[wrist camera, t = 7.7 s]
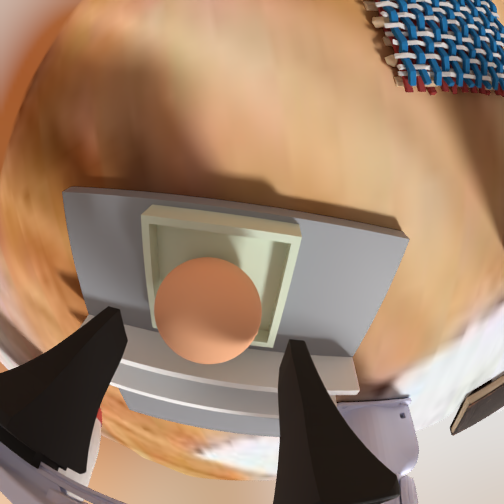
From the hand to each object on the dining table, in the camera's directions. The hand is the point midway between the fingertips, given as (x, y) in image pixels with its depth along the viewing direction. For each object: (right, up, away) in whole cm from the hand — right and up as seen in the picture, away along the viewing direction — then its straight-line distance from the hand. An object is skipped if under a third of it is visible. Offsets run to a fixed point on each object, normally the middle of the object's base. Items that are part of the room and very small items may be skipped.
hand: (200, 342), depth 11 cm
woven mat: (+13, +17, -3) cm, 22 cm away
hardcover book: (+46, -19, +15) cm, 52 cm away
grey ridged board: (-1, -5, +10) cm, 11 cm away
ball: (0, +1, +2) cm, 2 cm away
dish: (0, +2, +4) cm, 5 cm away
